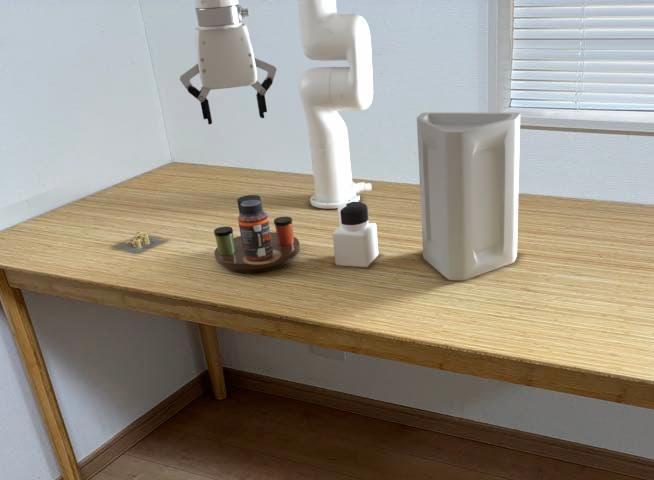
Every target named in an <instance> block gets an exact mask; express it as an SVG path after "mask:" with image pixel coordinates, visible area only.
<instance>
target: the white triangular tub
mask: <svg viewBox="0 0 654 480" xmlns="http://www.w3.org/2000/svg"><path fill="white" fill-rule="evenodd" d="M416 132H417V133H416V134H417V153H418V155H417V156H418V173H419V174H418V175H419V195H420V196H419V197H420V198H419V199H420V216H421V219H420V220H421V237H422V238H421V239H422V257H423V259H424V260H425V261H426V262H427V263H428V264H430V265H431V266H432V267H433V268H434V269H436V270H437V271H438V273H440V274H441V275H442V276H443V277H445V279H447V280H449V281H457V282H459V281H461V282H463V281H466V280H469V279H472V278H475V277H477V276H481V275H483V274H486V273H489V272H492V271H494V270H495V271H496V270H497V269H501V268H503V267H506V266H508V265H512V264H513V263H515V261H516V259H517V257H518V230H519V229H518V226H519V221H518V220H519V181H520V178H519V177H520V140H521V139H520V138H521V137H520V136H521V135H520V134H521V133H520V132H521V113H520V112H421V113H420V114H419V115H417V116H416Z"/></svg>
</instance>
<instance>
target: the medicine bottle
mask: <svg viewBox="0 0 654 480" xmlns="http://www.w3.org/2000/svg"><path fill="white" fill-rule="evenodd" d="M367 205H368V204H366V203H364V202H362V201H358V202H347V203H344V204H342V205H340V206H339V207H338V208H337V217H338V225H339V226H338V227H337V228H336V229H335V230H334V231H333V232H332V235H331V236H332V242H333V243H332V244H333V253H334V261H335V265H336V266H341V267H355V268H368V267H369V266H370V265H371V264H372V263H373V261H374V260H376V258H377V257H378V256H379V254H380V253H379V244H378V243H379V242H378V241H379V240H378V229H377V228H378V227H377V223H375V222H370V221H369V213H368V212H369V210H368V206H367Z"/></svg>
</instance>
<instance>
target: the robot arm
mask: <svg viewBox="0 0 654 480" xmlns="http://www.w3.org/2000/svg"><path fill="white" fill-rule="evenodd" d="M193 4H194V9H195V16H196V20H197V26H198V27H196V28H194V47H195V54H196V61H197V63H196V64H194V66H192V67H191V68H189V69H188V70H186V71H185V72H184V73H182V74H181V75H180V76H179V81H180V82H181V84H182V85H183V87H184V88H185V89H186V90H187V92H188V94H190V95H191V96H193V97H194V98H195V99H196V100H197V101H198V102H200V107H201V112H202V118H203V120H207V124H208V125H212V124H213V119H212V114H211V109H210V103H209V99H207V97H208V95H209V93H210V91H212V90H223V89H233V88H242V87H249V86H251V87H252V88H253V89H254V90H255V91H256V93H255V95H256V102H257V109H258V116H259V118H260V119H265V113H267V112H268V109H267V101H266V94H267V92H268V90H269V89H270V87H271V86H272V85H273V82H274V79H275V77H276V73H277V67H276V66H275V65H274V64H271V63H268V62H266V61H264V60H261V59H259V58H257V57H255V52H254V49H253V44H252V40H251V36H250V32H249V29H248V26H247V23H243V21H242V20H243V19H244V18H246V17H249V16H250V13H249V12H250V11H249V8H248V7H244V6H243V7H242V6H240V3H239V0H193ZM297 5H298V16H299V27H300V39H301V47H302V51H303V53H304V55H305V57H306V58H308V59H309V60H313V61H319V62H320V61H322V62H324V61H325V62H327V61H328V62H329V61H330V62H331V61H333V62H334V61H347V63H348V66H318V67H311V68H309V69H306V70H305V71H303V73H302V74H301V75H300V77H299V79H298V85H297V86H298V93H299V98H300V102H301V104H302V108H303V111H304V116H305V121H306V127H307V133H308V141H309V150H310V151H309V152H310V158H311V159H310V160H311V167H312V168H311V169H312V175H313V183H314V191H315V194H313V195H311V197H310V198H309V202H310V205H311V206H312V207H314V208H318V209H324V210H325V209H326V210H332V209H333V210H334V209H338V207H339V206H340V205H342V204H344V203H347V202H360V199H361V195H360V193H361V192H369V191H370V192H371V191H372V190H373V189H372V183H371V182H367V183H366V182H365V181H361V182H355V181H354V180H353V175H352V166H351V165H352V164H351V155H350V143H349V133H348V127H347V125H346V122H345V121H344V119H343V118H342V116H341V115H340V114H339V112H358V111H361V112H362V111H364V110H367V109H369V107H370V106H371V105H372V102H373V98H374V76H373V75H374V74H373V73H374V72H373V59H372V58H373V56H372V55H373V54H372V38H371V31H370V27H369V24H368V22H367V20H366V19H365V18H364V17H363V16H362V15H360V14H356V13H338V10H337V0H297ZM257 68H258V69H261V70H263V71H266V72H267V73H266V76H265V78H264V80H263V81H262V83H260V82H259V81H258V69H257ZM197 75H199V78H200V82H201V85H202V86H201V88H200V89H198V88H197V87H196V86H194V85H193V83H192V82H191V79H193V78H194V77H196V76H197Z"/></svg>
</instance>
